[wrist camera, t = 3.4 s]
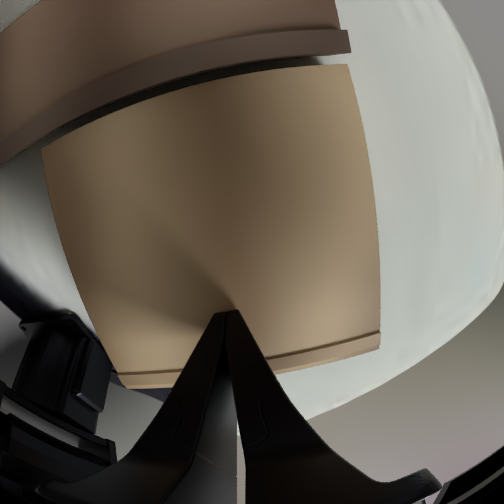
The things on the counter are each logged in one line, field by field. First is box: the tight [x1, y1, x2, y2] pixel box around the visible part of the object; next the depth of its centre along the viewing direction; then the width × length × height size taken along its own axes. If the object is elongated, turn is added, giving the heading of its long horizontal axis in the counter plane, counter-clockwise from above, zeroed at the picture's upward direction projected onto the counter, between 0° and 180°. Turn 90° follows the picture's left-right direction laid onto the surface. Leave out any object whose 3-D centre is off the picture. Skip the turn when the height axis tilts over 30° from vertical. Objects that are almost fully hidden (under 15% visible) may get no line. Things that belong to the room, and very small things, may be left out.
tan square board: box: [41, 64, 381, 389], centre depth 9 cm, size 11×11×2 cm
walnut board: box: [0, 0, 351, 166], centre depth 6 cm, size 16×6×2 cm, turn 101°
